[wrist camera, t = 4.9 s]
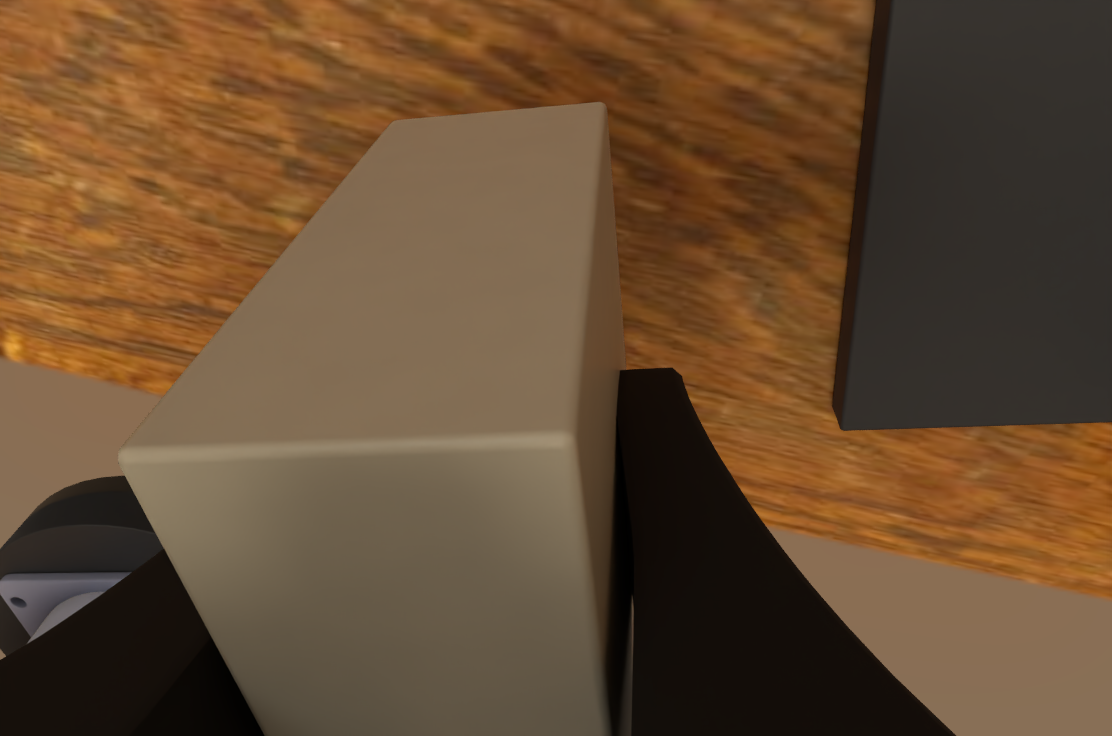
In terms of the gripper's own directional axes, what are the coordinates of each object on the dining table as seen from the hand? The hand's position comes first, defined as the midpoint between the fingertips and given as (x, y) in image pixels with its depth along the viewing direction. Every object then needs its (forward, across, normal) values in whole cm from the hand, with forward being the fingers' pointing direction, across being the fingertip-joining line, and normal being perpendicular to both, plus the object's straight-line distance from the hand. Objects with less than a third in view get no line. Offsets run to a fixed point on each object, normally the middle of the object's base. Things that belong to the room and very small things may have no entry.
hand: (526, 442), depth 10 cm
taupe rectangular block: (+2, 0, 0) cm, 2 cm away
